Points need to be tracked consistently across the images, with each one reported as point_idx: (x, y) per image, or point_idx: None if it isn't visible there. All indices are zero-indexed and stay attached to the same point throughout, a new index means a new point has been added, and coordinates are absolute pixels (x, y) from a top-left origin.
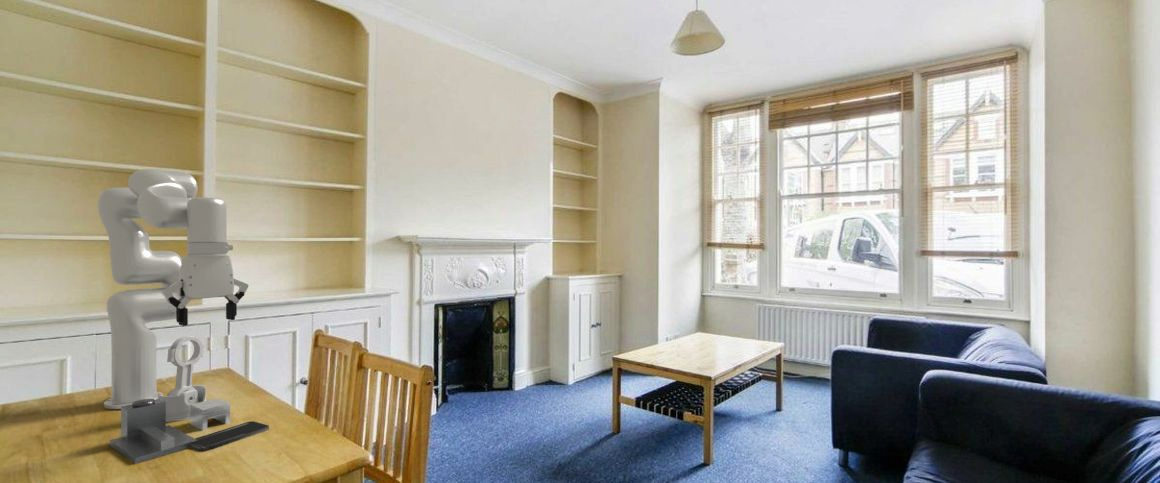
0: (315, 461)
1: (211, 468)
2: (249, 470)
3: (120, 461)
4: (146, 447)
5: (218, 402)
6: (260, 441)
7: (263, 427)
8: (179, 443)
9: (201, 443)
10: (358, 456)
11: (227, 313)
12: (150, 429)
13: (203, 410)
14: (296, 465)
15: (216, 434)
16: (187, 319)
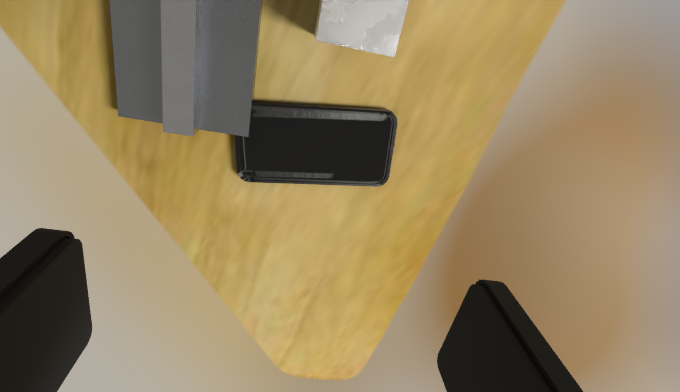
0: (310, 350)
1: (209, 256)
2: (240, 307)
3: (104, 63)
4: (155, 69)
5: (387, 8)
6: (327, 223)
7: (376, 176)
8: (215, 117)
9: (252, 145)
10: (349, 378)
11: (484, 347)
12: (178, 2)
13: (318, 40)
14: (287, 342)
15: (301, 121)
16: (59, 382)
